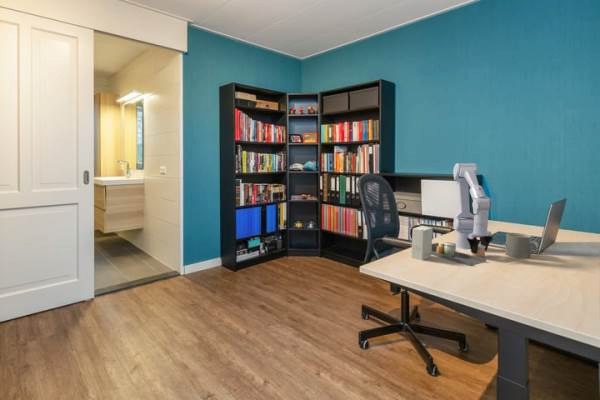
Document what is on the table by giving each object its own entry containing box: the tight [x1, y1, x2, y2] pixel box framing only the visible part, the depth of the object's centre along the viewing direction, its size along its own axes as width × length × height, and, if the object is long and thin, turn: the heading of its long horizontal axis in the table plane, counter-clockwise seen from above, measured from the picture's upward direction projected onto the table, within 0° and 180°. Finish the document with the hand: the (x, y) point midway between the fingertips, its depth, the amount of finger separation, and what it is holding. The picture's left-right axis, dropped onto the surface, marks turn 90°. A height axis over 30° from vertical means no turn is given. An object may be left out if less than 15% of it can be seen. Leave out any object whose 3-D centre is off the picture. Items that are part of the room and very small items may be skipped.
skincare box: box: [410, 225, 433, 261], centre depth 154 cm, size 8×6×15 cm
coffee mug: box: [504, 232, 540, 260], centre depth 157 cm, size 13×10×10 cm
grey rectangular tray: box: [431, 242, 487, 267], centre depth 156 cm, size 12×26×4 cm, turn 29°
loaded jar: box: [443, 241, 457, 257], centre depth 157 cm, size 5×5×6 cm
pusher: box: [436, 243, 444, 254], centre depth 160 cm, size 8×1×5 cm, turn 119°
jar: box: [472, 243, 486, 259], centre depth 156 cm, size 5×5×6 cm
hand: (478, 252), depth 156 cm, fingers open, 7 cm apart
